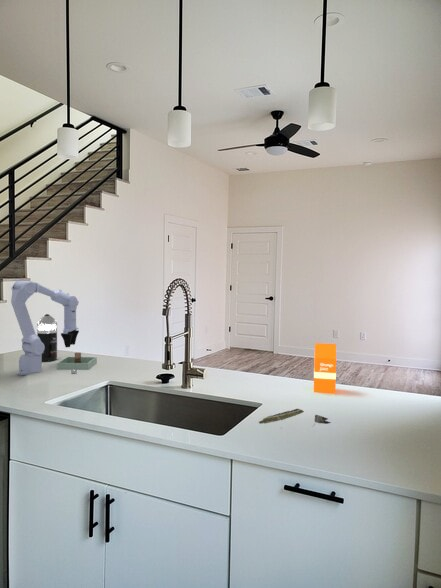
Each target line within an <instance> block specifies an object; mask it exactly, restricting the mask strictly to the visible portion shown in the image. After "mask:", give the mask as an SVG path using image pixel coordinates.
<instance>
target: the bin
mask: <svg viewBox="0 0 441 588" xmlns="http://www.w3.org/2000/svg"><path fill="white" fill-rule="evenodd" d="M97 361H98V357H97V356H81V362H83V363H75V356H66V357H65V358H63V359H62V360H60V361H58V362H56V369H57V370H70V371H71V370H72V369H76V370H84V371H85V370H90V369H91V368H93V366H95V365H97V363H98V362H97Z"/></svg>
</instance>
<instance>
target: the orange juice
mask: <svg viewBox="0 0 441 588" xmlns="http://www.w3.org/2000/svg"><path fill="white" fill-rule="evenodd" d="M313 358H314V362H313V393H319V394H335V395H336V387H337V384H336V383H337V382H336V380H337V344H336V343H319V342H318V343H317V342H315V344H314V357H313Z"/></svg>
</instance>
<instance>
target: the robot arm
mask: <svg viewBox="0 0 441 588" xmlns="http://www.w3.org/2000/svg"><path fill="white" fill-rule="evenodd" d="M10 288H11V298H10V303H11V306H12V308H13V312H14V315H15V317H16V320H17V323H18V326H19V329H20V331H21V334H22V338H21V343H22V344H21V349H22V351H23V352H24V354H21V355H19V359H18V374H17V375H19V376H28V375H30V374H37V373H41V372H42V370H43V369H42V368H43V366H42V363H43V361H42V353H43V351H44V349H45V346H44V344H43V343H42V342H41V340H40V338H39V337H38V336H37V334H36V330H35V328H34V325H33V322H32V319H31V316H30V313H29V310H28V308H27V304H26V303H27V301H28V299H29V298H30V297H31V296H33V295H34V294H36V293H38V294H41V295H45V296H46V297H50V300H51V301H53V302H55V303H57V304H60V305H62V307H63V312H64V313H63V316H64V317H63V329H62V332H61V333H60V336H61V337H62V339H63V343H64V347H65V348H71V345H73V346H74V345H75V344H76V341H77V337H78V335H79V332H80V330H79V327H77V307H78V305H79V300H78V298H77V297H76V296H74V295H70V293H66V292H63V291H62V290H61V289H59V288H58V289H54V290H53V289H50V288H49V287H47V286H44V285H43V284H40V283H38V282H34V281H33V280H25V281H24V280H21V279H20V280H16V281H15V282H14V283H13V284H12V286H11V287H10Z"/></svg>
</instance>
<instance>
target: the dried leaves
mask: <svg viewBox="0 0 441 588" xmlns="http://www.w3.org/2000/svg"><path fill="white" fill-rule="evenodd" d="M304 412H305V411H304V410H303V409H300V408H295V409H292V410H286V411H282V412H279V413H276V414H273V415H269V416H266V417H264V418H262V420H260V421H258V423H259V425H260V424H269V423H275V422H278V421H284V420H286V419H289V418H292V417H296V416H298V415H301V414H302V413H304ZM328 419H329V418H327V417H324V416H322V415H319V414H315V415H314V422H315V423H314V425H313V426H312V427H314V426H315V424H316V423H318V424H322V425H323V424H325V425H326V424H327V425H329V424H331V423H332V422H331V421H327V420H328ZM280 429H283V427H280Z"/></svg>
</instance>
